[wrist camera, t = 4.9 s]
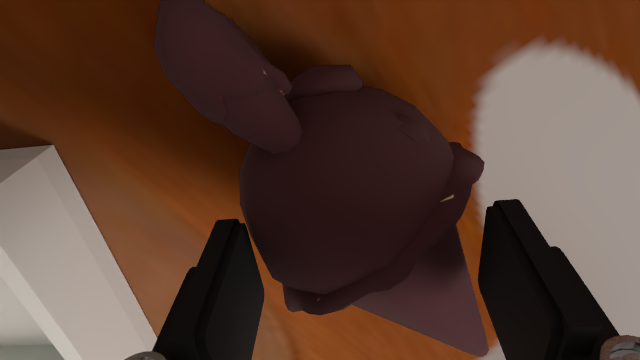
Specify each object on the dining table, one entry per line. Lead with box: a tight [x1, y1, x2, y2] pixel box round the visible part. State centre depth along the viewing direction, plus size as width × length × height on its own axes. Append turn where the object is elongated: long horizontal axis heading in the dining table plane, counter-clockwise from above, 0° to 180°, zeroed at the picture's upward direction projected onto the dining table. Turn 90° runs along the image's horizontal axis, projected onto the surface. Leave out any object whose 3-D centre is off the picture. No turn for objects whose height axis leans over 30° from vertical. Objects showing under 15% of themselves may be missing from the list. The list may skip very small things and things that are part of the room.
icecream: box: [154, 0, 489, 357], centre depth 12 cm, size 7×7×15 cm
